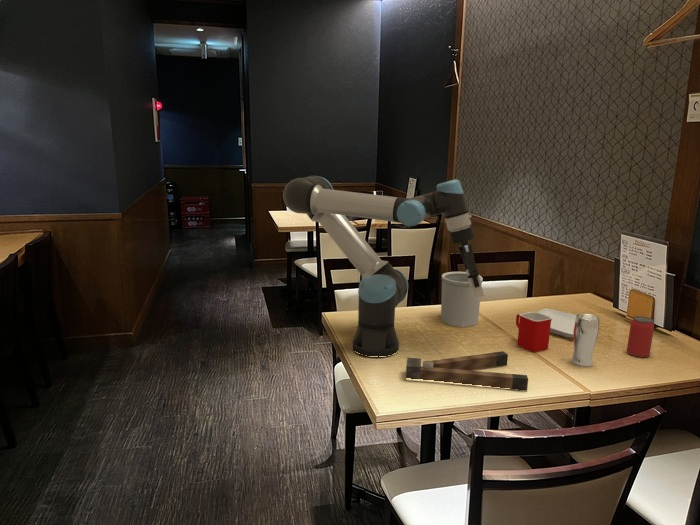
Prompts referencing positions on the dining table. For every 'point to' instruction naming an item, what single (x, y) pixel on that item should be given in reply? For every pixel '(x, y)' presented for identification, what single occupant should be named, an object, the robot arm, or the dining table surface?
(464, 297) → the utensil holder
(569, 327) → the salad plate
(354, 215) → the robot arm
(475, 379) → the base
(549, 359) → the dining table surface
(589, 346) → the beer glass
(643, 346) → the beer can
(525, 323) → the mug
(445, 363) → the bar
